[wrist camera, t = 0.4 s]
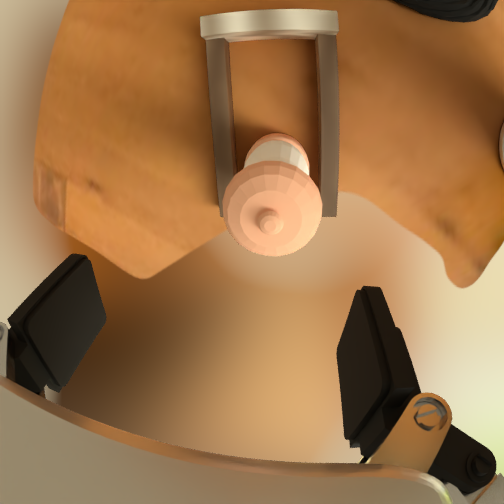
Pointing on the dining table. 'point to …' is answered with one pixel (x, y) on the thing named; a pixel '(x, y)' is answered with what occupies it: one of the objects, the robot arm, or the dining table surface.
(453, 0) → the cable lock
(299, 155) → the pepper shaker
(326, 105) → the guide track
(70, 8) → the dining table surface
